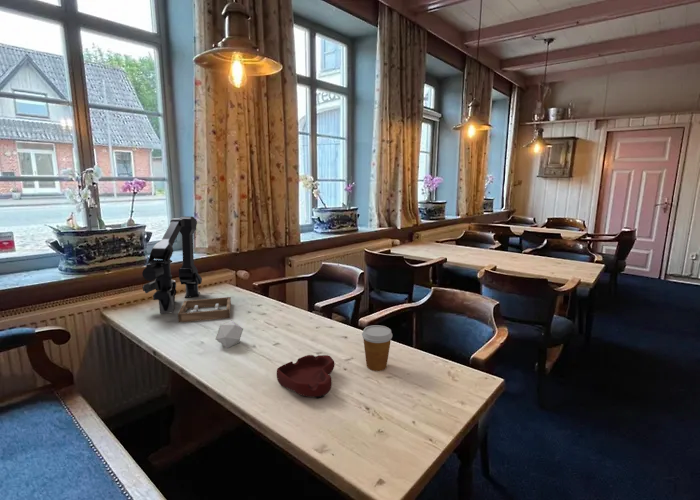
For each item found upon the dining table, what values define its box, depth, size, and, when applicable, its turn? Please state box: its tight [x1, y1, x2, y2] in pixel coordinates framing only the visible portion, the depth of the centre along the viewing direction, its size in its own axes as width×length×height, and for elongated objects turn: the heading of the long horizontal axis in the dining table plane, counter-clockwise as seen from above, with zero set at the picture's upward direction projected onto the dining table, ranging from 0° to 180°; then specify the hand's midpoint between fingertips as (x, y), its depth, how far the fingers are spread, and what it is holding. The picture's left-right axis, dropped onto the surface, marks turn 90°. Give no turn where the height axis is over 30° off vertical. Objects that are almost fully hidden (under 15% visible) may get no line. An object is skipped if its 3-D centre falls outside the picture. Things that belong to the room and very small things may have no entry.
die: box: [215, 320, 244, 349], centre depth 134 cm, size 8×9×10 cm
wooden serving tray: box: [177, 296, 232, 323], centre depth 166 cm, size 18×20×4 cm
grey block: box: [158, 296, 175, 314], centre depth 168 cm, size 5×5×7 cm
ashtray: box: [276, 354, 335, 399], centre depth 109 cm, size 18×16×5 cm
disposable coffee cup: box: [361, 324, 393, 372], centre depth 118 cm, size 10×10×12 cm
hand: (167, 308), depth 168 cm, fingers closed on grey block, 5 cm apart
